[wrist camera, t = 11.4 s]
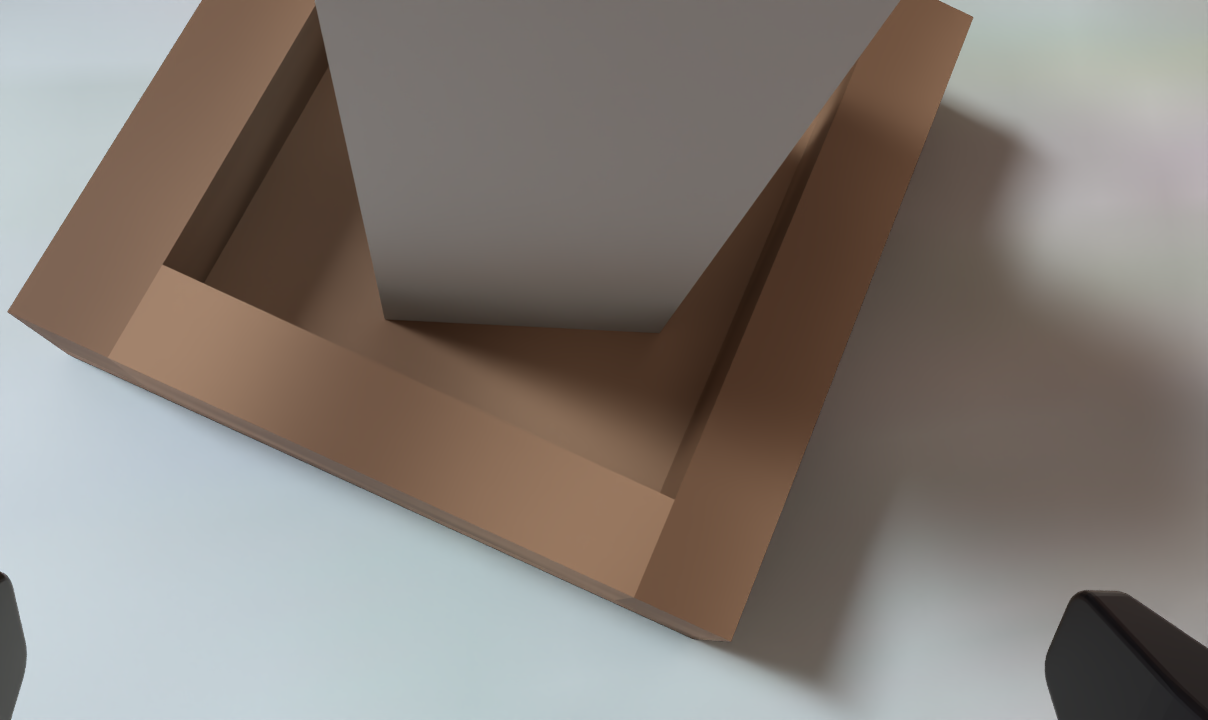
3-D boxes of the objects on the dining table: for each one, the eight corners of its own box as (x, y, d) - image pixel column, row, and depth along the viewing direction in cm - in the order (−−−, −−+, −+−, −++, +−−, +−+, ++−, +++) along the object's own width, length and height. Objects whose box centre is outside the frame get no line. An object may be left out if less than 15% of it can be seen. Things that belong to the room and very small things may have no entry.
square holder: (912, 87, 21) (973, 16, 18) (692, 638, 18) (731, 641, 15) (380, -165, 20) (370, -271, 18) (68, 354, 17) (6, 311, 15)
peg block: (659, 332, 18) (946, -65, 8) (384, 319, 18) (285, -132, 7) (660, 86, 19) (914, -564, 9) (400, 65, 19) (336, -657, 8)
